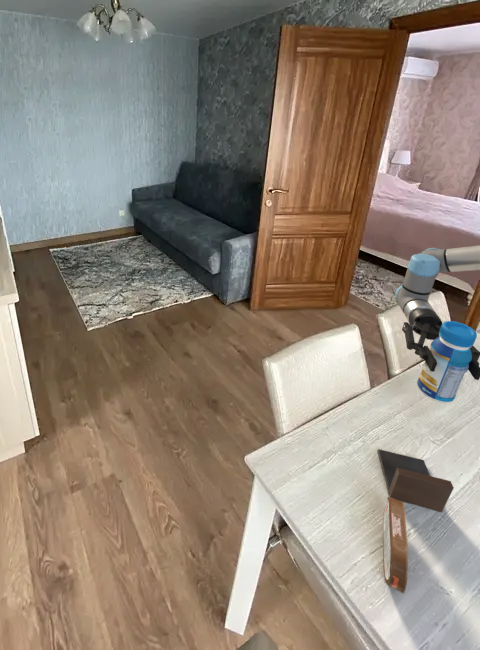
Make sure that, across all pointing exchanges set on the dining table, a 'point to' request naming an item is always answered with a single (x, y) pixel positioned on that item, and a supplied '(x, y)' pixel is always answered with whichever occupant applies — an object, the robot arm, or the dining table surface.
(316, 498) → the dining table surface
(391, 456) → the dock
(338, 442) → the dining table surface
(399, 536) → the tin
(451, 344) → the blue capped bottle
